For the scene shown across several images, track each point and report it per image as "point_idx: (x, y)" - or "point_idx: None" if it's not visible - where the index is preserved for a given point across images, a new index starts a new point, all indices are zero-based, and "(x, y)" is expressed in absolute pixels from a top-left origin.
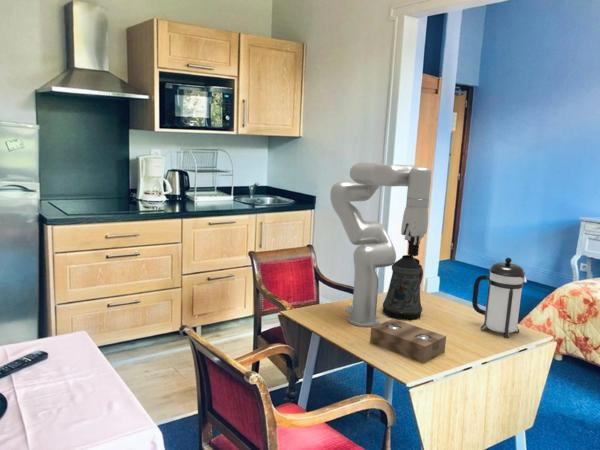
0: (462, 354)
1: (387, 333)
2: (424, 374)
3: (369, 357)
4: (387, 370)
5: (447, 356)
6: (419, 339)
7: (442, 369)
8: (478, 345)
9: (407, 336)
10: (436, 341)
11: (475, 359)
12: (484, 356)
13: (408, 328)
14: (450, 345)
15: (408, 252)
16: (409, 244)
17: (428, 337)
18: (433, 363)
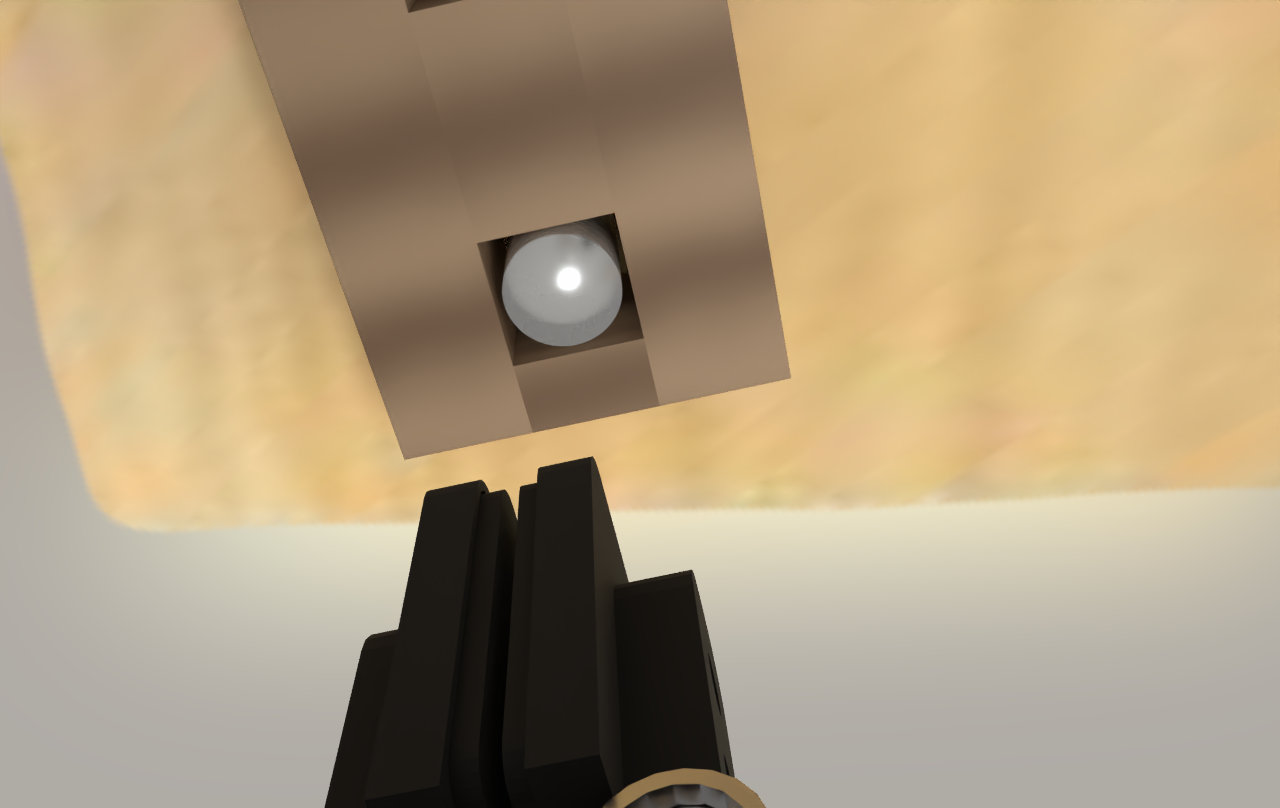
0: (867, 398)
1: (253, 39)
2: (296, 504)
3: (16, 75)
4: (44, 342)
5: None
6: (473, 325)
7: None
8: (1166, 337)
9: (410, 215)
10: (605, 414)
11: (871, 498)
12: (986, 493)
13: (592, 44)
14: (951, 227)
15: (423, 547)
16: (390, 801)
17: (599, 327)
18: None
